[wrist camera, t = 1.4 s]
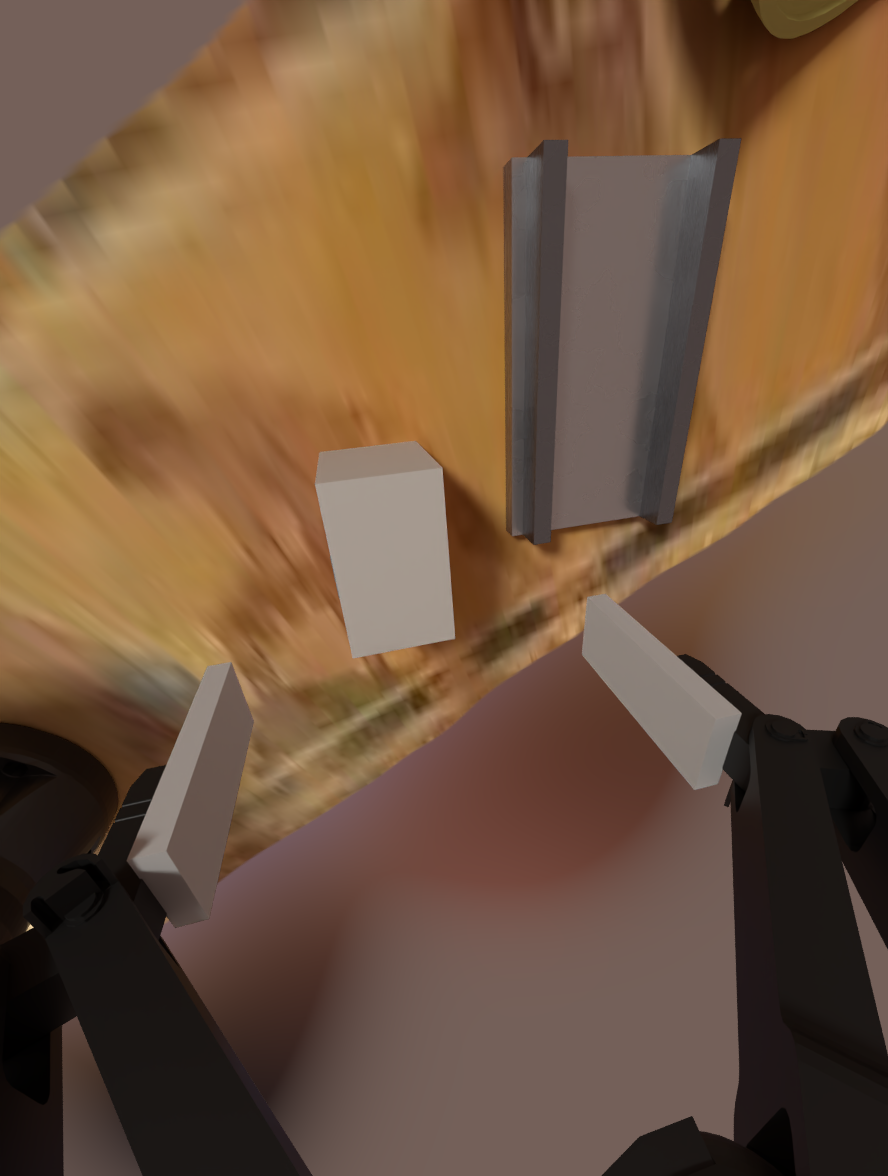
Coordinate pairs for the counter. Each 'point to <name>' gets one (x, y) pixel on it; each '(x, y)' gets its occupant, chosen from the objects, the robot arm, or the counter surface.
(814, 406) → the counter surface
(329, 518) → the block
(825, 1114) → the robot arm
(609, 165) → the grey channel bracket
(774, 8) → the plastic component
